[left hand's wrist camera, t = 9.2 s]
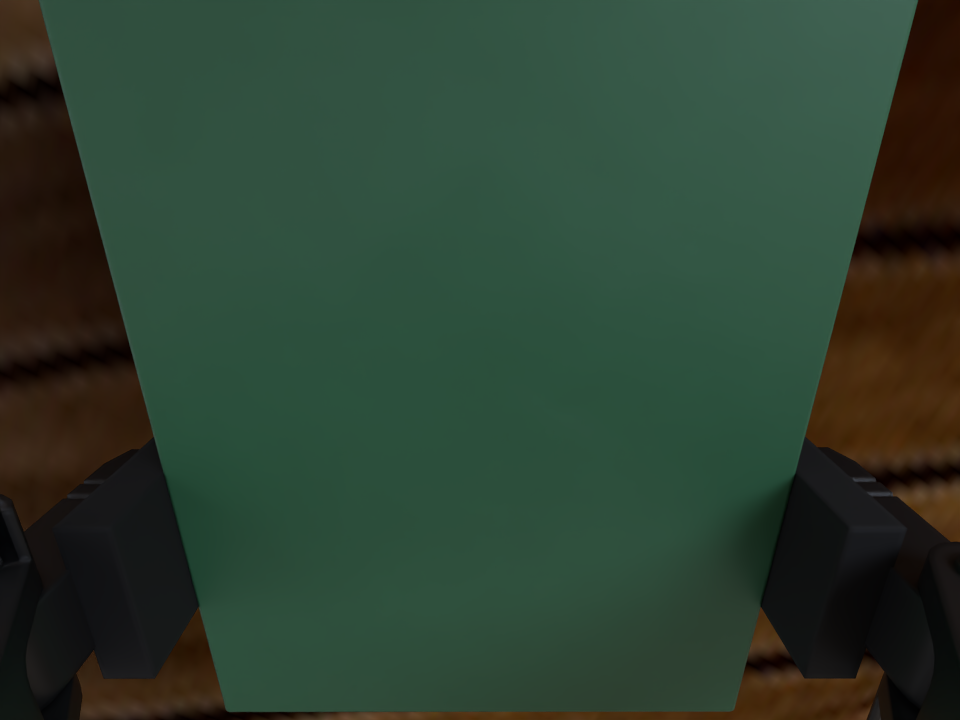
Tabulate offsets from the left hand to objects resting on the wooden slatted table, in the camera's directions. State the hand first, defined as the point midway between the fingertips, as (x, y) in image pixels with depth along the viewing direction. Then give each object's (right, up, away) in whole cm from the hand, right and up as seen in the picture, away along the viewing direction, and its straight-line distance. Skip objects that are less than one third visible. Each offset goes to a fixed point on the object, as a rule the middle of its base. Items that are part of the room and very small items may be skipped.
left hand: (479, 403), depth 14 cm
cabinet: (0, +4, +3) cm, 5 cm away
